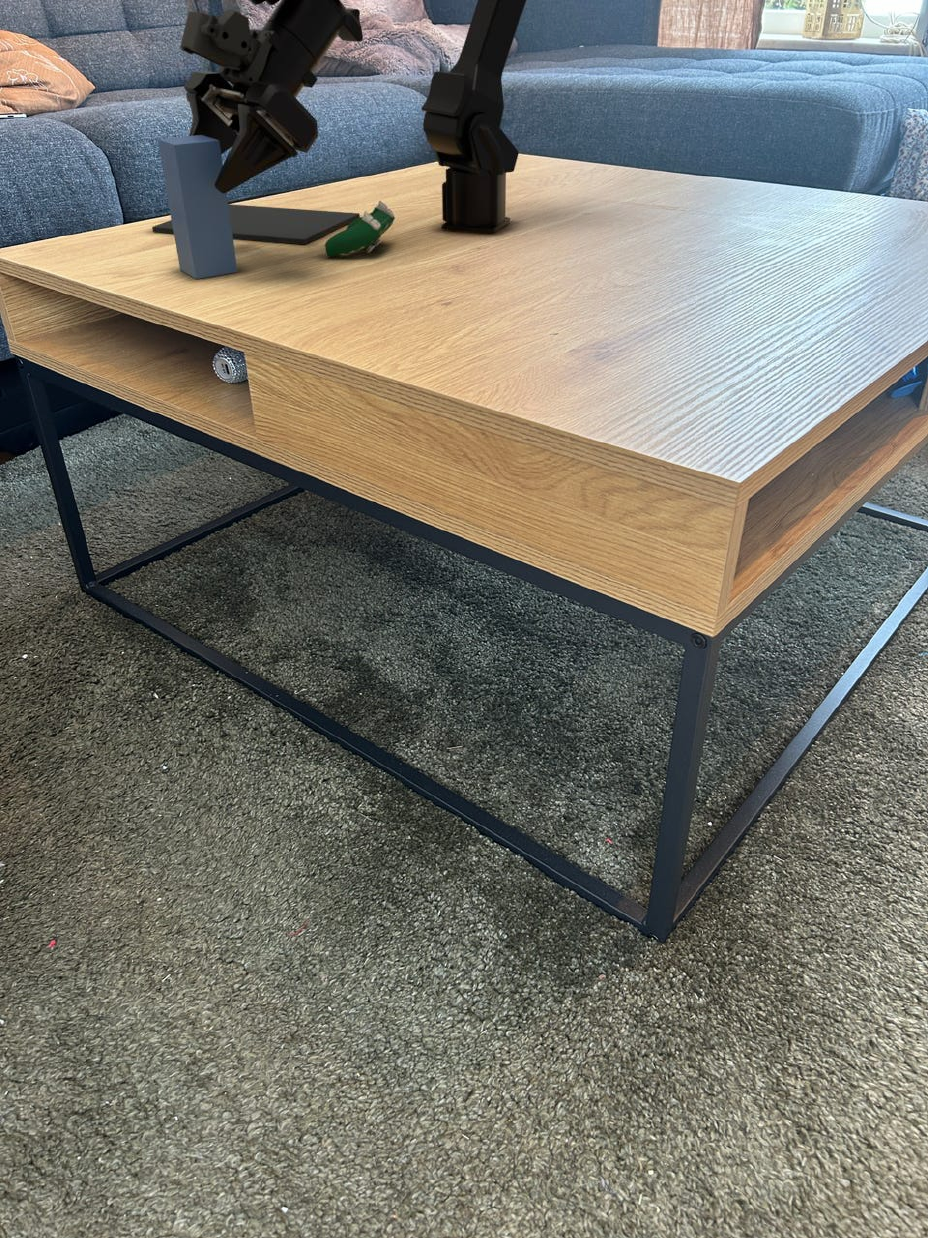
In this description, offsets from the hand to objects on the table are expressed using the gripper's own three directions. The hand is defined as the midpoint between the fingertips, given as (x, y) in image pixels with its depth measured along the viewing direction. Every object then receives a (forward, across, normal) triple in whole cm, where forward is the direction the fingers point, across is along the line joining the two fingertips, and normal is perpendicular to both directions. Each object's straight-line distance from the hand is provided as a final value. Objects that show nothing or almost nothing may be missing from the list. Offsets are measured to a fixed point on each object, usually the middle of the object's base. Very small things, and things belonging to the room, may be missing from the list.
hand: (199, 182), depth 93 cm
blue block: (+6, 0, +6) cm, 8 cm away
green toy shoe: (-6, +2, +18) cm, 18 cm away
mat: (-3, -16, +15) cm, 22 cm away
